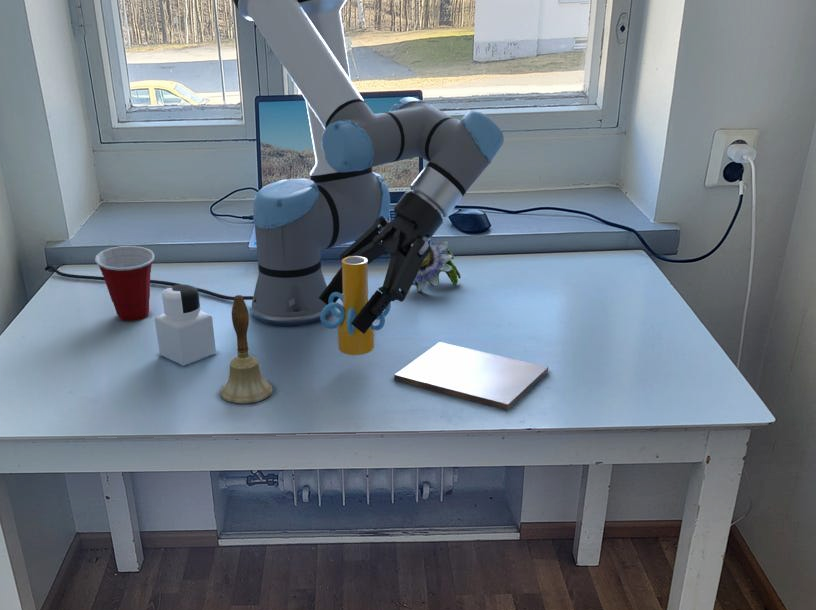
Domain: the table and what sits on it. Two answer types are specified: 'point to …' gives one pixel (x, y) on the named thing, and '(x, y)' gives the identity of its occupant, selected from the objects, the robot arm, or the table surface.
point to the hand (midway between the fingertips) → (340, 315)
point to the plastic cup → (127, 279)
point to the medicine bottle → (184, 326)
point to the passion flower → (436, 266)
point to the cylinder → (353, 308)
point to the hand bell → (244, 364)
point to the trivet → (472, 375)
